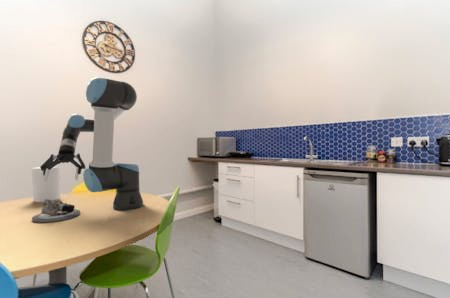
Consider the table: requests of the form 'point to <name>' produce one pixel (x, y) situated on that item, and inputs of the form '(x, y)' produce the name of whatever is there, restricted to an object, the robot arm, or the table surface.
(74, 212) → the carrier plate
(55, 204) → the caster wheel
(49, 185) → the canister
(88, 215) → the table surface
